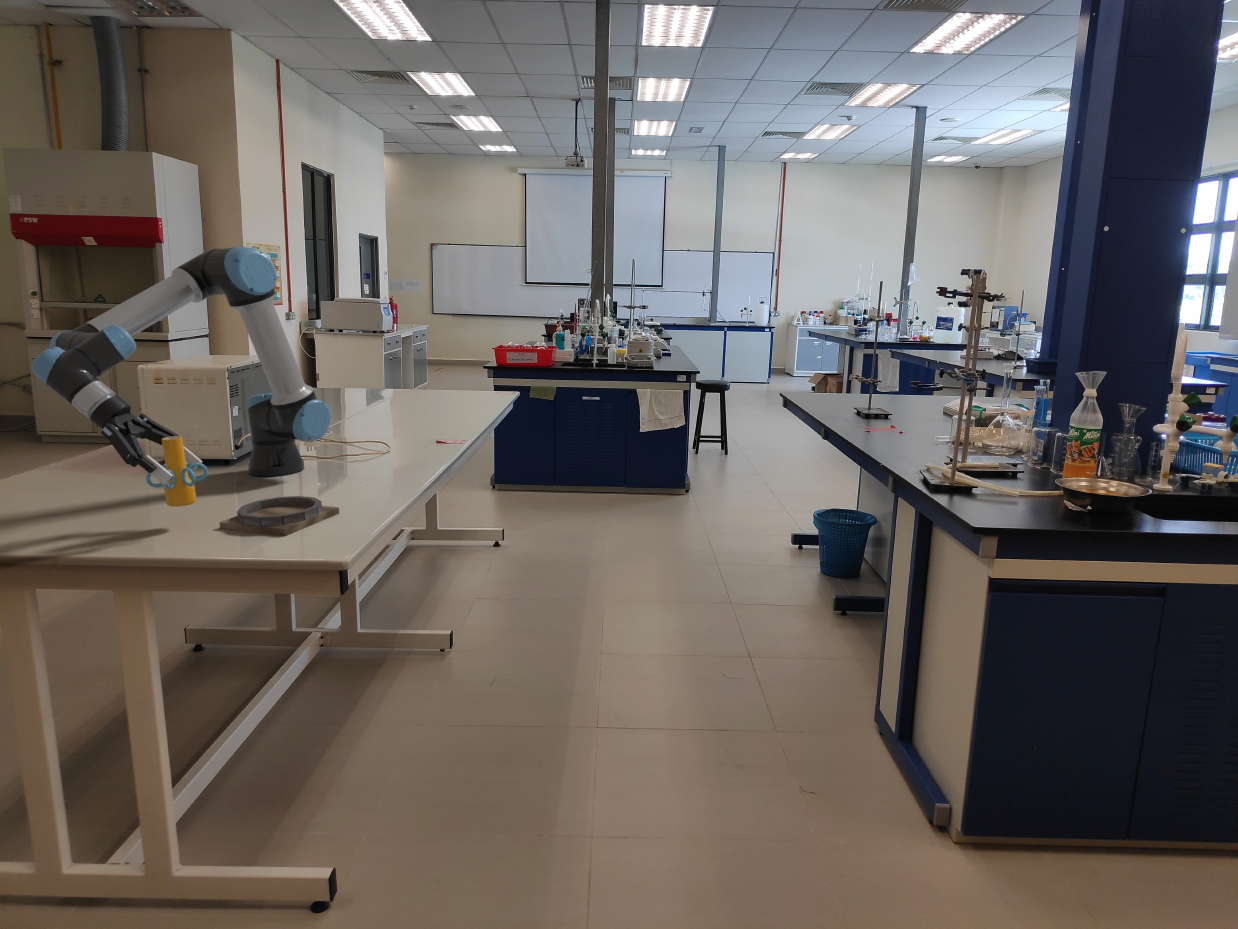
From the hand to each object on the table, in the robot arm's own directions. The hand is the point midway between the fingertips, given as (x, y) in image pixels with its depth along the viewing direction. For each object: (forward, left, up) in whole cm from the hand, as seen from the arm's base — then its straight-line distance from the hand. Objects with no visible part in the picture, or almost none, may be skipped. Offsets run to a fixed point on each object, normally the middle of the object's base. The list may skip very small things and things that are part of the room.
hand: (184, 473), depth 175 cm
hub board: (-10, +17, -12) cm, 23 cm away
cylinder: (0, -2, -7) cm, 7 cm away
